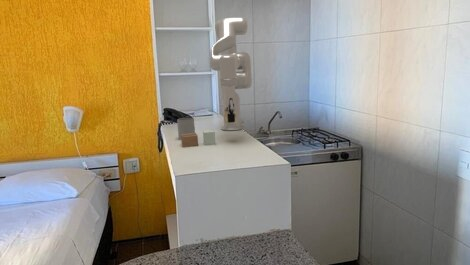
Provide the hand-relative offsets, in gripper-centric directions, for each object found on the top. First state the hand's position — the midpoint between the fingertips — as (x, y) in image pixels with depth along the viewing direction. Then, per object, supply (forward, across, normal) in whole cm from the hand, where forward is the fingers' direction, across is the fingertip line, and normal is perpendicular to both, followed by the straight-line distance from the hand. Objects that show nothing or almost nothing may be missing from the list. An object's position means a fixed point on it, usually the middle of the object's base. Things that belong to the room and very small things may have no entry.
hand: (230, 120), depth 176 cm
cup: (+11, -15, -21) cm, 28 cm away
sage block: (+10, +2, -11) cm, 15 cm away
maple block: (+1, 0, 0) cm, 1 cm away
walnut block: (+10, +1, -20) cm, 22 cm away
